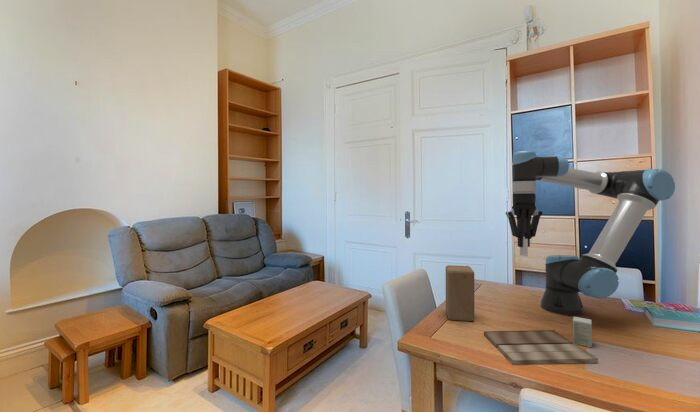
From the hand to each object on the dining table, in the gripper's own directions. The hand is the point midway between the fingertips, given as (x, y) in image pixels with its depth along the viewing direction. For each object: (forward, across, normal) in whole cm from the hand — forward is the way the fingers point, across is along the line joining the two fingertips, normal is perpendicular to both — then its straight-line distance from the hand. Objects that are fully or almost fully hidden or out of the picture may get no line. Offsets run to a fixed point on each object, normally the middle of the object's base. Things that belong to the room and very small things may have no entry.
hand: (523, 255), depth 117 cm
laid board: (+26, +6, +22) cm, 35 cm away
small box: (+27, -11, +15) cm, 32 cm away
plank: (+26, +6, +13) cm, 30 cm away
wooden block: (+27, +21, -9) cm, 35 cm away
